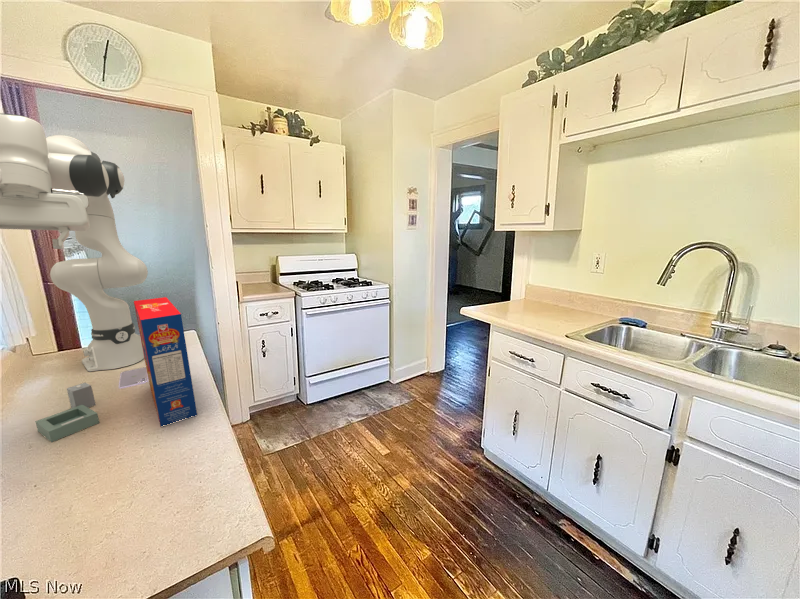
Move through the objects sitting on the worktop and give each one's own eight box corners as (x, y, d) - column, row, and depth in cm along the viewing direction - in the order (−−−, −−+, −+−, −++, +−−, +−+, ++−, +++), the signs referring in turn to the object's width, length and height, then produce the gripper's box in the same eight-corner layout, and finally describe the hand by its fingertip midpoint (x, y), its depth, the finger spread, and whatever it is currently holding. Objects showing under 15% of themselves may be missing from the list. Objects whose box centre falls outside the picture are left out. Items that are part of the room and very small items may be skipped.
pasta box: (150, 388, 105) (133, 301, 99) (180, 380, 110) (166, 297, 104) (160, 427, 84) (140, 320, 78) (197, 415, 89) (180, 313, 83)
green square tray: (37, 431, 83) (35, 420, 82) (84, 413, 90) (82, 404, 90) (51, 442, 78) (48, 431, 78) (99, 422, 86) (97, 412, 85)
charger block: (71, 408, 94) (66, 387, 92) (89, 401, 97) (85, 381, 96) (77, 411, 92) (72, 390, 90) (95, 404, 95) (91, 384, 94)
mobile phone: (147, 365, 120) (148, 380, 109) (147, 368, 120) (148, 383, 109) (120, 371, 116) (118, 387, 104) (120, 374, 116) (118, 390, 104)
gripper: (89, 197, 81) (95, 252, 79) (-46, 188, 68) (-43, 252, 67) (85, 185, 76) (91, 243, 74) (-61, 172, 63) (-58, 242, 62)
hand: (26, 248), depth 70 cm, fingers open, 8 cm apart
